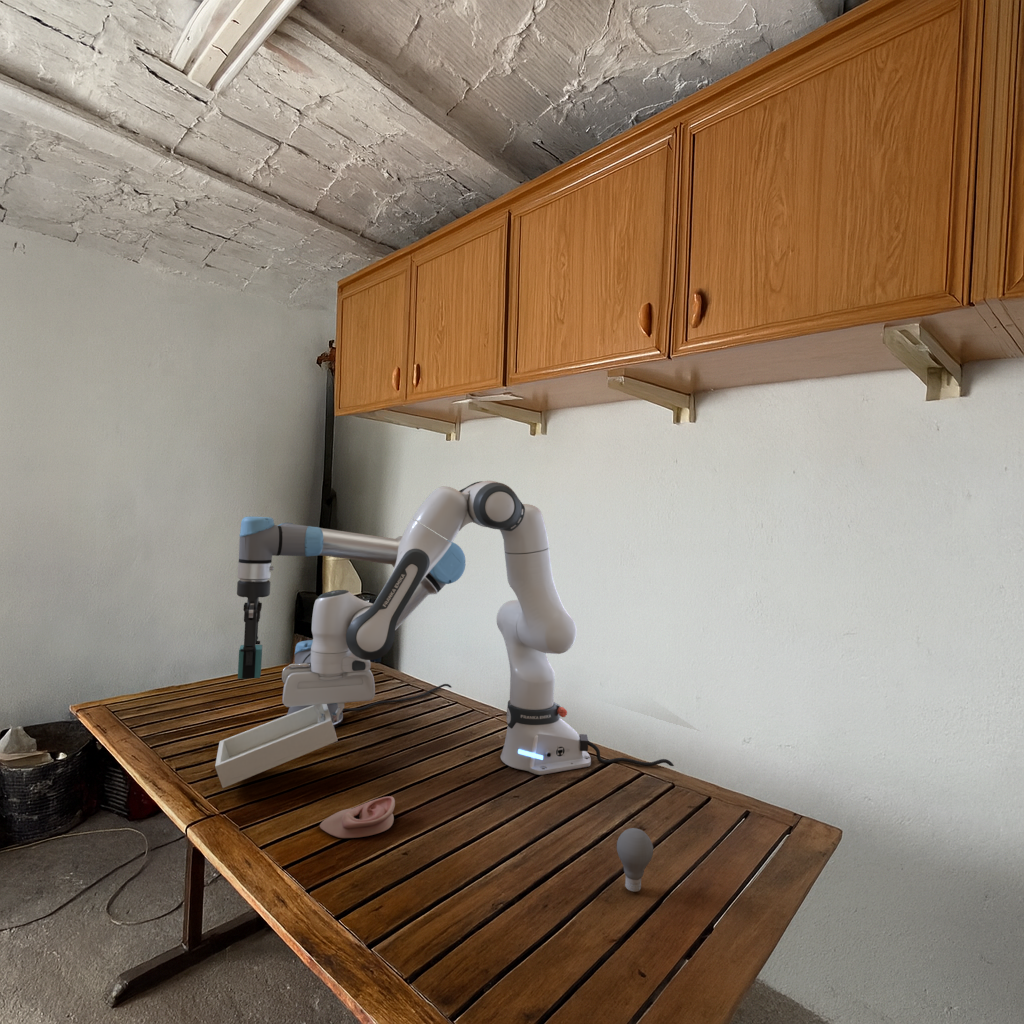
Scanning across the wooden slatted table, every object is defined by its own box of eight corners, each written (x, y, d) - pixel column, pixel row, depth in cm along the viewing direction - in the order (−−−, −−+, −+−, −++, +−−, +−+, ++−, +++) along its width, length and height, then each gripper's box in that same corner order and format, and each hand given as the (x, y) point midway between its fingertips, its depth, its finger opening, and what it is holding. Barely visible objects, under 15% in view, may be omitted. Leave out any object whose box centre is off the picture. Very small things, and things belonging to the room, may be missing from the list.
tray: (222, 788, 130) (214, 766, 130) (226, 761, 143) (219, 741, 143) (337, 740, 138) (331, 720, 138) (331, 719, 152) (325, 700, 151)
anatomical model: (312, 812, 119) (340, 786, 130) (311, 833, 119) (340, 805, 130) (378, 823, 116) (401, 795, 127) (377, 844, 116) (401, 814, 127)
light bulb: (610, 878, 109) (613, 821, 108) (645, 878, 109) (647, 821, 109) (619, 901, 103) (622, 840, 103) (655, 900, 103) (658, 839, 103)
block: (239, 673, 156) (240, 645, 156) (261, 672, 158) (262, 644, 158) (237, 678, 152) (239, 649, 152) (259, 678, 153) (261, 649, 153)
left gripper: (269, 585, 147) (263, 684, 148) (271, 575, 164) (267, 664, 165) (234, 584, 145) (228, 685, 145) (240, 574, 162) (235, 665, 162)
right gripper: (282, 667, 137) (280, 731, 138) (377, 662, 145) (375, 722, 145) (281, 660, 143) (279, 721, 144) (373, 656, 151) (370, 713, 151)
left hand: (249, 674), depth 155 cm, fingers closed on block, 5 cm apart
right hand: (328, 722), depth 144 cm, fingers closed on tray
